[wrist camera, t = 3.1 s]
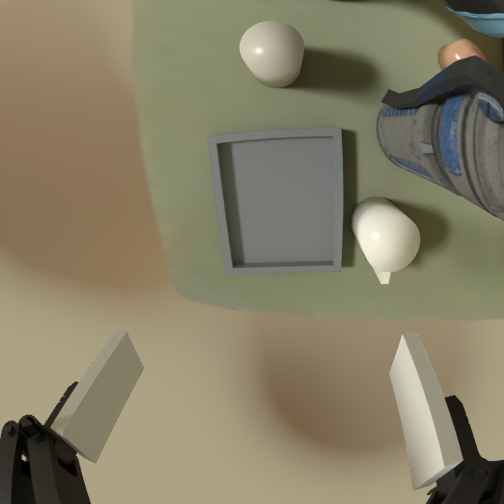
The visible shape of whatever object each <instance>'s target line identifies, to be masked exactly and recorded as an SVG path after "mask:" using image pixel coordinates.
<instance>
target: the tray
mask: <svg viewBox="0 0 504 504" xmlns="http://www.w3.org/2000/svg"><path fill="white" fill-rule="evenodd" d="M208 143H209V151H210V160H211V168H212V175H213V183H214V191H215V198H216V206H217V213H218V220H219V227H220V234H221V241H222V247H223V254H224V261H225V267H226V274H272V273H311V272H341V259H342V237H343V154H342V133H341V128H304V129H281V130H266V131H253V132H243V133H233V134H225V135H217V136H209V137H208Z"/></svg>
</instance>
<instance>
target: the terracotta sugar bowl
mask: <svg viewBox="0 0 504 504" xmlns="http://www.w3.org/2000/svg"><path fill="white" fill-rule="evenodd" d="M473 55H476V56H478V57H480V58H482V59H483V60H485V61H486V62H487V60H486V58H485V56H484V54H483V52H482V51H481V49H480V48H479V47H478V46H477V45H476V44H475V43H473V42H472V41H470V40H467V39H461V40H458V41H456V42H453V43H451V44H448V45H446V46H443V47H442V48H441V49H440V50H439V53H438V61H439V64H440V67H441V69H442V70H444V69H445V68H446V67H448V66H449V65H450V64H452V63H453V62H455V61H457V60H460V59H464V58H467V57H470V56H473Z"/></svg>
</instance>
